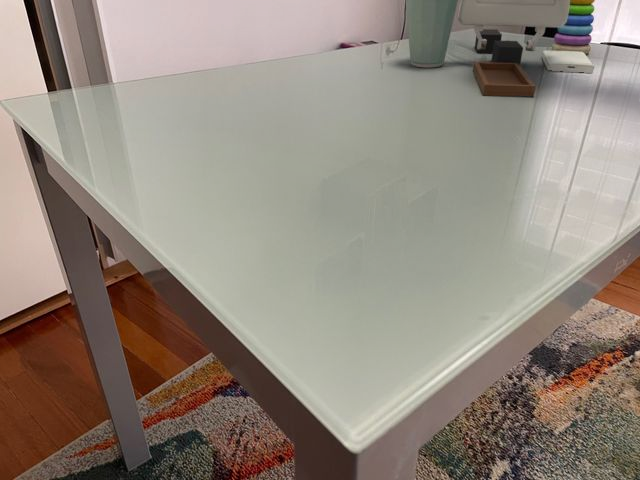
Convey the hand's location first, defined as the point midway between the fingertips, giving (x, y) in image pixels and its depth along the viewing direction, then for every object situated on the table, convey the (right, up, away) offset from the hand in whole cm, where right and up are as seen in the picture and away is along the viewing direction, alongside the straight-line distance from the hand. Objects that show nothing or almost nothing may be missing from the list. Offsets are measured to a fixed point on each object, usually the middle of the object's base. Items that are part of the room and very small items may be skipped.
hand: (505, 49), depth 105 cm
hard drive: (+13, -3, +1) cm, 13 cm away
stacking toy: (+18, +3, +12) cm, 22 cm away
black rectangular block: (+1, -2, +2) cm, 3 cm away
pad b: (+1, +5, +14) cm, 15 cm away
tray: (-5, -10, -11) cm, 16 cm away
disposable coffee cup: (-16, -2, +2) cm, 16 cm away
